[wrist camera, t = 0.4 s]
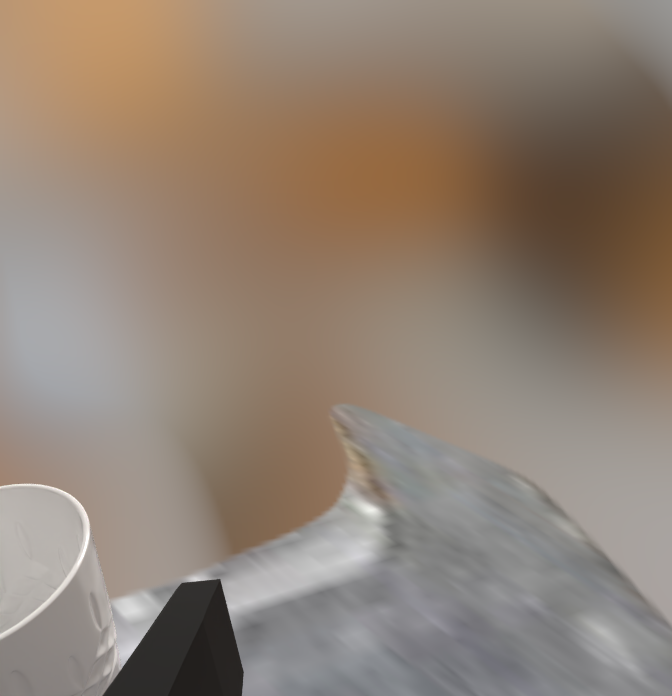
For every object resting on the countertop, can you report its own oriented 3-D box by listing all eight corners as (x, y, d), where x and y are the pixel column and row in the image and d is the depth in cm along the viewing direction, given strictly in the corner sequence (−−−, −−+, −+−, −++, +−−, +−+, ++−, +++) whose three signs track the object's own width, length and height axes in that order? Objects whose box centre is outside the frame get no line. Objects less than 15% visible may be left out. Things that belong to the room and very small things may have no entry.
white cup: (144, 610, 30) (103, 471, 25) (127, 781, 23) (67, 639, 18) (-17, 639, 29) (-95, 498, 23) (-83, 828, 22) (-213, 690, 17)
